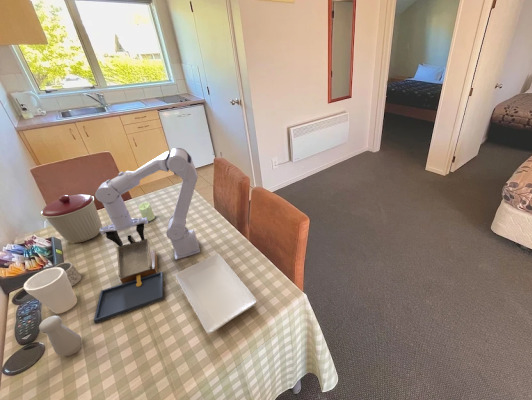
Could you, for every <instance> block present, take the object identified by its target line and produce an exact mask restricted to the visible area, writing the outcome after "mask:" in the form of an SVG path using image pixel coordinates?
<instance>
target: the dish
mask: <svg viewBox="0 0 532 400" xmlns="http://www.w3.org/2000/svg"><path fill="white" fill-rule="evenodd" d="M127 241H128V242H129V243H127V244H126V243H125V244H123V245H122V246H118V245H117V246H116V259H117V274H118V277H119V279H120V278H121V279H122V278H125V277H128V276H132V275H135V274H138V273H141V272H145V271H148V270H151V269H153V266H152V259H151V251H152V250H151V245H150V241H149V240H148V238H145V240H141V239H140V240H136V239H134V237H133V236H132V235H131V234H129V235H127Z"/></svg>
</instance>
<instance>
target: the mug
mask: <svg viewBox="0 0 532 400" xmlns="http://www.w3.org/2000/svg"><path fill="white" fill-rule="evenodd" d="M54 267H60V268H62V269H64V271H65V272H66V274H67V277H68V280H69V282H70V284H71V287H73V286H75V285H76V284H78V283H79V282H80V281H81V279H82V275H81V274H80V273H79V271H78V270H77V268H76V267H75V266H74V263H73V262H71V261H65V262H61V263H59V264H57V265H54Z"/></svg>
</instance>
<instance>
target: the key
mask: <svg viewBox="0 0 532 400" xmlns="http://www.w3.org/2000/svg"><path fill="white" fill-rule="evenodd" d="M136 278H137V283H136V286H137V287H140V286H141V285H142V282H141V275H138V276H136Z"/></svg>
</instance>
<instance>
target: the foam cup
mask: <svg viewBox="0 0 532 400" xmlns="http://www.w3.org/2000/svg"><path fill="white" fill-rule="evenodd" d="M23 290H24V291H25V292H26V293H27V294H29V295H30V296H32V297H33V298H34V299H36V300H37V301H38V302H40V303H41V304H42V305H43V306H44V307H46V308H47V309H48V310H50V311H51V312H53V313H54V314H55V315H57V314H62V313H66V312H68V311H70V310H71V309H72V308H74V307H75V306H76V304H77V303H78V298H77V296H76V293H75V292H74V289H73V286H71V284H70V282H69V280H68V277H67V274H66V272H65V271H64V269H62V268H60V267H55V266H53V267H50V268H46V269H43V270H41V271H38V272H37V273H34V274H33V275H32V276H30V277H29V278H28V279H27V280H26V281H25V282H24V283H23Z"/></svg>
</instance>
